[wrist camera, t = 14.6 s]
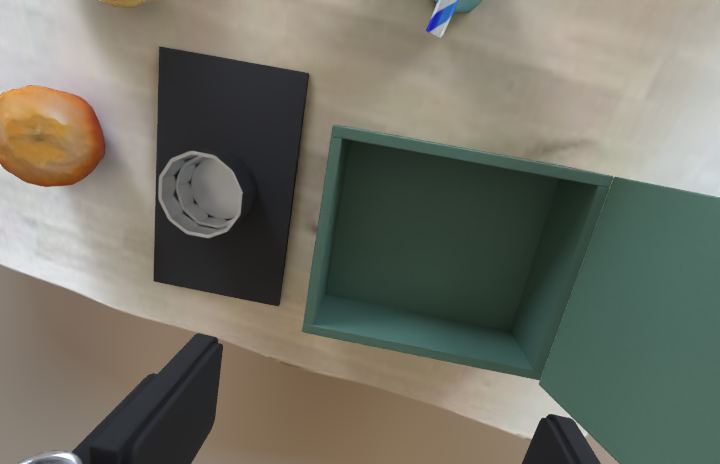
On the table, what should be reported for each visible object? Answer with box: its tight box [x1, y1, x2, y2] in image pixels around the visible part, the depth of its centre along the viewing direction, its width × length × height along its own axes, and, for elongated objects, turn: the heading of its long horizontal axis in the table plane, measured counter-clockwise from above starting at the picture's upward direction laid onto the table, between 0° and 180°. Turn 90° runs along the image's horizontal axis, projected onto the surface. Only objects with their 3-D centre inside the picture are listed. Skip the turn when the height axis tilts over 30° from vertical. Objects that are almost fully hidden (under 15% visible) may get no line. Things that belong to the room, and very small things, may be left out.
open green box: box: [302, 125, 613, 380], centre depth 31 cm, size 20×17×7 cm
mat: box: [154, 47, 309, 306], centre depth 35 cm, size 22×13×1 cm, turn 170°
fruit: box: [0, 85, 105, 187], centre depth 32 cm, size 8×8×8 cm
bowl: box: [158, 149, 258, 238], centre depth 33 cm, size 7×7×4 cm
